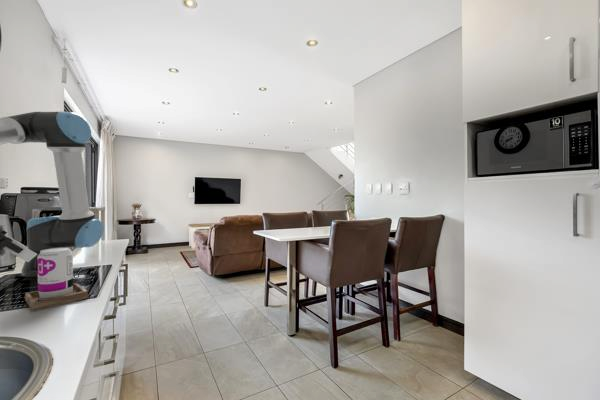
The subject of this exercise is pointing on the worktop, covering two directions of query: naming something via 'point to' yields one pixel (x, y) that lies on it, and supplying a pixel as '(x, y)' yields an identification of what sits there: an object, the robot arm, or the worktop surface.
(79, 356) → the worktop surface
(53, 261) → the supplement can
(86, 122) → the robot arm
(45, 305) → the walnut tray
